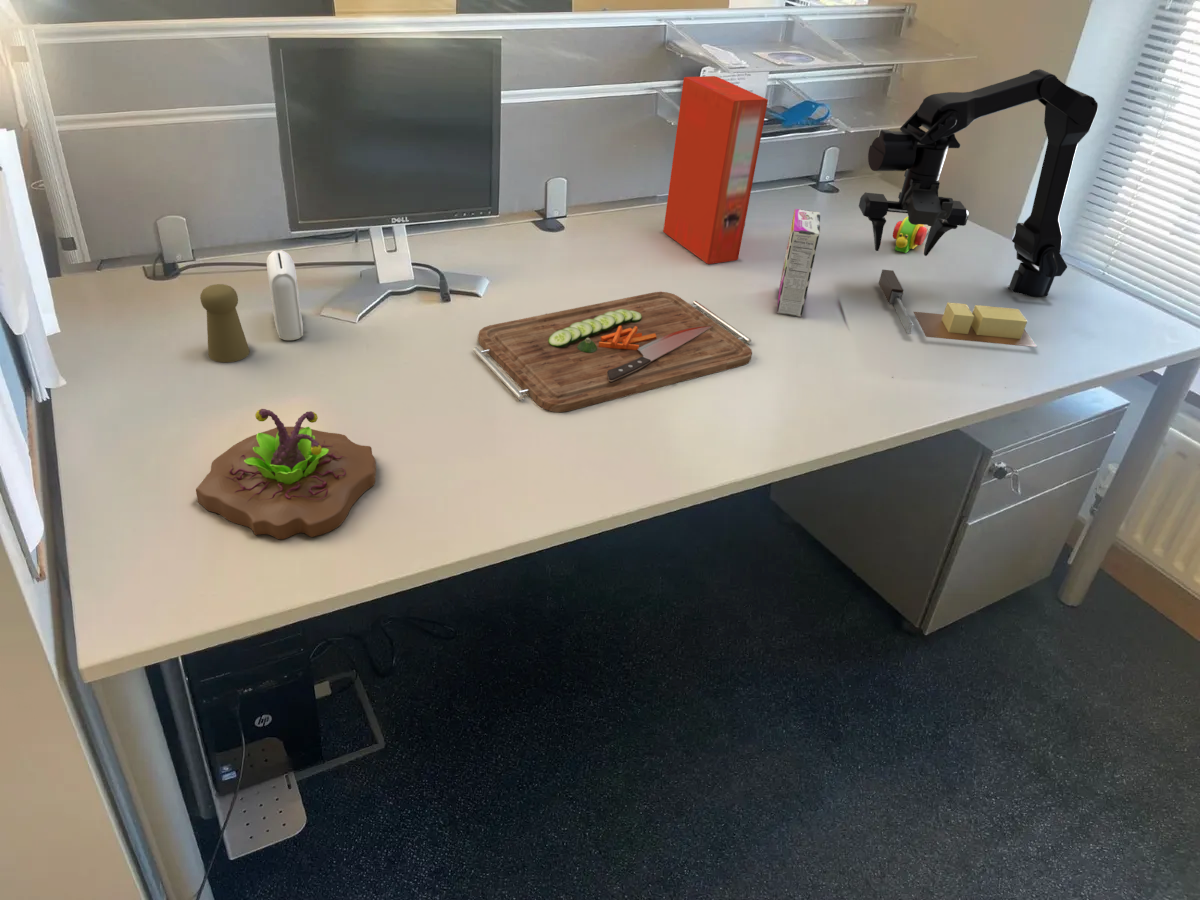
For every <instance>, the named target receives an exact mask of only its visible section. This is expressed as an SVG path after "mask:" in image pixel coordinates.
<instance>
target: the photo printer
mask: <svg viewBox="0 0 1200 900" xmlns="http://www.w3.org/2000/svg"><path fill="white" fill-rule="evenodd" d="M266 272H267V280H268V286H269V287H268V288H269V293H270V294H269V295H270V302H271V308H272V315H273V319H274V325H275V329H276V332H277V336H278V337H279V339H282V340H283V341H295V340H298V339H300V338H301V337H303V335H304V324H303V317H302V309H301V303H300V302H301V301H300V294H299V286H298V277H297V271H296V265H295V262H294V259H293V258H292V256H291V255H290V253H288V252H287V251H285V250H283V249H279V250H273V251H272V252H270V253H269V255H268V256H267V258H266Z"/></svg>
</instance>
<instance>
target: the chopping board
mask: <svg viewBox="0 0 1200 900" xmlns="http://www.w3.org/2000/svg"><path fill="white" fill-rule="evenodd" d="M697 308H698V309H697ZM701 311H702V312H701ZM704 313H705V314H706V315H705V314H704ZM708 316H709V317H708ZM711 318H712V319H713V320H712V319H711ZM714 320H715V321H716V322H715V321H714ZM718 323H719V324H720V325H719V324H718ZM721 325H722V326H723V327H722V326H721ZM725 328H726V329H725ZM728 330H729V331H730V332H729V331H728ZM731 332H732V333H733V334H735V335H736V336H735V335H733V334H732V333H731ZM477 334H478V335H477V337H478V339H477V340H478V343H479V345H480V346H481V348H482V349H483V350H480V349H479V348H478V347H477V346H476V347H474V348H473V349H472V350H473V352H474V353H475V355H476V356H478V358H479V359H480V360H481V361H482V362H483V363H484V364H485V365H486V366H487V367H488V368H489V369H490V370H491V371H492V372H493V373H494V374H495V376H496V377H497V378H498V379H499V380H500V381H501V382H502V383H503V384H504V385H505V386H506V387H507V388H508V389H509V391H510V392H511V393H512V394H513V395H514V396H515V397H516V398H517V399H518V400H519V401H521V400H523V399H524V395H523V394H527V395H528V396H529V397H530V398H531V400H532V401H534V403H535V404H536V405H538V406H539V407H540V408H542V409H543V410H546V411H549V412H554V413H555V412H556V413H564V412H565V413H566V412H571V411H574V410H577V409H581V408H585V407H590V406H593V405H598V404H601V403H605V402H609V401H612V400H616V399H621V398H624V397H627V396H631V395H635V394H640V393H642V392H643V393H644V392H646V391H651V390H655V389H658V388H662V387H666V386H670V385H674V384H678V383H681V382H685V381H689V380H692V379H697V378H700V377H704V376H708V375H711V374H715V373H720V372H723V371H727V370H732V369H734V368H738V367H742V366H745V365H747V364H749V363H750V362H751V360H752V355H753V351H752V348H751V347H750V346H749V345H747V344H750V343H751V342H752V339H751V338H750V337H748V336H747V335H745V333H743V332H742V331H740V330H738V328H735V327H734V326H732V325H731V324H730V323H728V322H727V321H725V319H723V318H721V317H719V316H718V315H717V314H716V313H714V312H713V311H711V310H709V308H707V307H705V306H704V305H703V304H701V303H699V302H698V301H697V300H694V301H693V302H692V305H691V304H690V303H689V302H687V301H686V300H684V299H683V298H682V297H680V296H679V295H677V294H676V293H675V294H674V293H672V292H667V291H653V292H649V293H643V294H639V295H634V296H630V297H629V296H628V297H623V298H619V299H615V300H614V299H613V300H607V301H604V302H599V303H593V304H588V305H585V306H579V307H574V308H570V309H564V310H559V311H553V312H549V313H544V314H539V315H535V316H529V317H523V318H519V319H514V320H510V321H505V322H500V323H493V324H490V325H487V326H484V327H482V328H481V329H480V330H479V331H478V333H477ZM746 343H747V344H746ZM485 354H488V355H489V356H490V357H491V358H492V359H493V360H494V361H495V362H496V363H497V364H498V365H499V366H500V367H501V368H502V369H503V370H504V371H505V372H506V373H507V374H508V376H510V377H511V379H512V380H513V381H514V382H515V383H516V384H517V385H518V386H519V387H520V388H521V389H522V390H518V389H517V388H516V387H515V386H514V385H513V384H512V382H510V380H509V379H508V378H507V377H506V376H505V375H504V374H503V373H502V372H501V371H500V370H499V369H498V367H496V366H495V365H494V363H493V362H491V360H490V359H489V358H487V356H486V355H485Z"/></svg>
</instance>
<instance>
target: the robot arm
mask: <svg viewBox="0 0 1200 900" xmlns="http://www.w3.org/2000/svg"><path fill="white" fill-rule="evenodd" d="M1034 101H1038V102H1039V104H1042V105H1043V106H1044V121H1043V123H1044V129H1045V132H1046V137H1047V143H1046V149H1045V152H1044V157H1043V161H1042V165H1041V170H1040V174H1039V178H1038V182H1037V187H1036V192H1035V195H1034V200H1033V203H1032V208H1031V212H1030V215H1029V216H1028V217H1027V218H1026V219H1025V220H1024V222H1017V223H1016V224H1015V230H1014V231H1015V232H1014V236H1013V238H1012V239H1011V242H1012V243H1013V247H1014V250H1015V251H1016V260H1018V261H1020V263H1019V265H1018V268H1017V269H1015V270H1014V272H1013V274H1012V277H1011V280H1010V283H1009V285H1007V286H1006V289H1007V290H1011V291H1012V293H1016V294H1021V295H1024V296H1027V297H1031V298H1042V297H1046V296H1047V297H1048V296H1049V292H1050V290H1051V288H1052V286H1053V282H1054V280H1055V278H1056V277H1062V275H1063V274H1064V273H1065V271H1066V270H1067V269H1068V265H1067V263H1066V262H1065V260H1064V258H1063V256H1062V255H1061V251H1062V244H1063V243H1062V242H1063V233H1062V230H1061V226H1060V225H1061V224H1060V213H1061V210H1062V206H1063V202H1064V200H1065V199H1064V198H1065V194H1066V191H1067V187H1068V183H1069V179H1070V176H1071V175H1070V174H1071V171H1072V166H1073V163H1074V159H1075V155H1076V151H1077V149H1078V145H1079V143H1080V142H1081V141H1082V140H1083V139H1084V138H1085V137H1086V135H1087V134H1088V133H1089V132H1090V130H1091V128H1092V126H1093V123H1094V121H1095V118H1096V115H1097V113H1098V108H1099V104H1098V102H1097V100H1096V99H1095V98H1094V97H1093V96H1091V95H1088V94H1086V93H1084V92H1082V91H1080V90H1078V89H1075V88H1073V87H1071V86H1068V85H1067V84H1065V83H1064V82H1063V81H1061V80H1060V79H1059V78H1058V76H1056V75H1055V74H1053V73H1050V72H1048V71H1046V70H1044V69H1041V68H1039V69H1033V70H1031V71H1030V72H1029V73H1026V74H1023V75H1019V76H1016V77H1013V78H1010V79H1007V80H1004V81H1000V82H997V83H994V84H991V85H987V86H984V87H981V88H978V89H974V90H971V91H964V92H963V91H961V92H959V91H958V92H957V91H947V92H939V93H933V94H930V95H928V96H926V97H925V98H923V100H922V102H921V103H920V105H919V106H918V109H916V110H915V111H914V113H913V114H912V115H911V116H910V117H909V118H907V120H906V121H905V122H904V124H902V126H900V128H899V131H896V130H895V131H894V130H893V131H892V130H888V129H881V130H880V131H879V134H878V136H877V137H875V138H874V140H873V141H872V142H871V145H869V147H868V153H867V162H868V166H869V168H870V170H871V171H872V172H904V181H903V184H902V187H901V191H900V192H898V193H899V194H898V200H897V201H896V200H895V201H894V200H888V199H887V197H886V196H885V194H884V193H874V192H864V193H863V194H862V195H861V197H860V199H859V203H858V208H859V209H860V211H861V214H862V215H863V217H866V218H867V219H868V221H869V222H871V225H872V232H873V233H872V234H873V241H874V250H875V251H876V252H879V251H880V247H881V243H882V238H883V232H884V228H885V224H886V223H887V219H886V217H885V216H887V214H888V213H898V214H907V217H908V220H909V222H910V223H911V224H914V225H918V224H922V225H928V226H930V229H929V231H928V233H927V236H926V237H927V238H926V240H925V244H924V248H923V255H924V256H925V257H927V256H928V255H929V254H930V252H931V251H932V250H933V249H934V247H935V246H936V244H937V243H938V242H939V241H940V239H941V238H942V237H943V236H944V234H946V233H947V232H949V231H951V230H956V229H958V227H959V226H960V227H961V226H962V227H964V226H966V225H967V222H968V220H969V211H968V210H967V208H966V206H965V205H964V204H963V203H962V202H961V200H953V198H952V197H945V196H939V189H940V184H941V182H940V181H939V180H940V178H941V177H940V176H941V173H942V170H943V166H944V163H945V160H946V156H947V154H948V149H960V148H961V146H962V145H961V143H960V142H959V141H958V139H957V138H956V135H955V134H956V133H959V132H961V131H963V130H965V129H967V128H968V127H969V126H970V125H971V124H972V123H973V122H974V121H976V120H978V119H980V118H983V117H986V116H988V115H992V114H995V113H999V112H1001V111H1004V110H1005V111H1006V110H1008V109H1011V108H1012V109H1013V108H1015V107H1018V106H1021V105H1024V104H1027V103H1030V102H1034ZM921 127H923V128H924V129H926V130H927V131H925V130H924V129H922V128H921Z"/></svg>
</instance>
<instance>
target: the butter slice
mask: <svg viewBox="0 0 1200 900" xmlns="http://www.w3.org/2000/svg"><path fill="white" fill-rule="evenodd" d="M972 313H973V311H971V309H970V308H969V306H968V304H967V303H958V302H948V301H947V303H946V305H945V308H944V311H943V313H942V314H943V317H942V321H943V323H944V325H945V327H946V328H947V330H948V332H951V333H961V334H968V332H969V329H970V326H971V324H972V321H973V318H974V316H973V314H972Z"/></svg>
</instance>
